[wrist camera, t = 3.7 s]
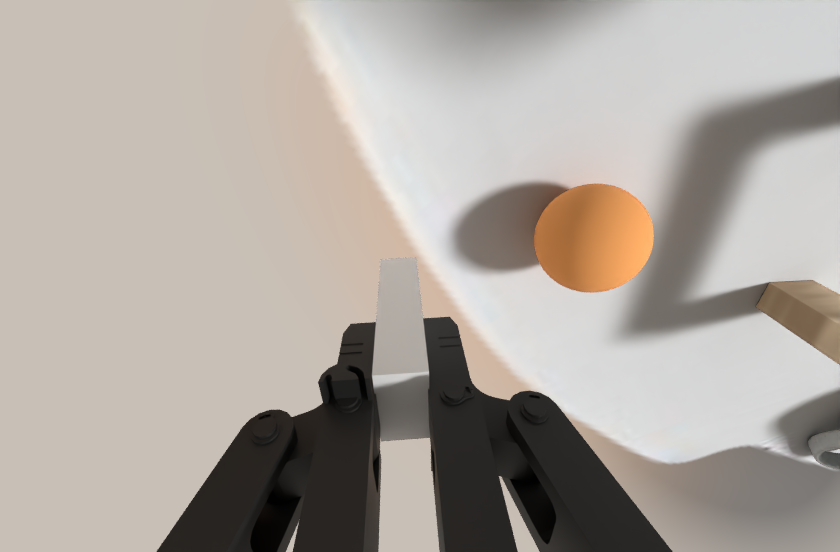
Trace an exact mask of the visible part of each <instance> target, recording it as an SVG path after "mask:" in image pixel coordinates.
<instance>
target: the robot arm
mask: <svg viewBox="0 0 840 552" xmlns="http://www.w3.org/2000/svg"><path fill="white" fill-rule="evenodd" d="M318 383H319V387H320V392H321V396H322V400H323V403H322V404H321V405H320V406H318V407H317V408H315V409H313V410H311V411H309V412H306V413H303V414H300V415H297V416H295V417H291V416H290V415H289V414H288V413H287V412H284V411H282V410H269V411H265V412H262V413H259V414H258V415H256V416H255V417H253V418H251V419H250V420H249V421H248V422H247V423H246V424H245V425H244V426H243V427H242V429H241V430H240V432H239V433H238V435H237V436H236V437H235V439H234V440H233V442H232V443H231V445H230V446H229V448H228V449H227V450H226V452H225V454H224V455H223V456H222V458H221V459H220V461H219V462H218V464H217V465H216V467H215V468H214V469H213V471H212V472H211V474H210V475H209V477H208V478H207V480H206V481H205V482H204V484H203V485H202V487H201V488H200V490H199V491H198V492H197V494H196V495H195V497H194V498H193V500H192V501H191V503H190V504H189V505H188V507H187V508H186V510H185V511H184V513H183V514H182V516H181V517H180V518H179V520H178V521H177V523H176V524H175V526H174V527H173V529H172V530H171V531H170V533H169V535H168V536H167V537H166V539H165V540H164V542H163V543H162V544H161V546H160V548H159V549H158V550H157V552H286V550H287V547H288V545H289V543H290V540H291V538H292V536H293V533H294V531H295V528H296V526H297V524H298V522H299V525H298V529H297V534H296V539H295V544H294V548H293V552H378V545H379V512H380V482H381V481H380V480H381V454H380V438H381V441H391V440H405V439H418V438H430V441H431V471H433V482H434V494H435V505H436V516H437V526H438V537H439V549H440V552H518V551H517V548H516V543H515V539H514V535H513V531H512V527H511V523H510V519H509V515H508V512H507V507H506V503H505V500H504V496H503V491H502V487H501V484H500V479H499V476H501V477H502V478H503V481H504V482H505V485H506V487H507V489H508V491H509V492H510V494H511V496H512V498H513V500H514V502H515V504H516V506H517V508H518V510H519V512H520V514H521V516H522V518H523V520H524V522H525V524H526V526H527V528H528V530H529V531H530V534H531V536H532V537H533V539H534V541H535V543H536V545H537V547H538V549H539V551H540V552H672V550H671V549H670V548H669V547H668V545H667V544H666V543H665V542H664V540H663V539H662V538H661V537H660V535H659V534H658V533H657V531H656V530H655V529H654V528H653V526H652V525H651V524H650V522H649V521H648V520H647V519H646V517H645V516H644V515H643V514H642V513H641V511H640V510H639V509H638V507H637V506H636V505H635V503H634V502H633V501H632V500H631V499H630V497H629V496H628V495H627V493H626V492H625V491H624V490H623V488H622V487H621V486H620V484H619V483H618V482H617V481H616V480H615V478H614V477H613V476H612V474H611V473H610V472H609V470H608V469H607V468H606V467H605V465H604V464H603V463H602V461H601V460H600V459H599V458H598V456H597V455H596V454H595V453H594V451H593V450H592V449H591V448H590V446H589V445H588V444H587V442H586V441H585V440H584V439H583V437H582V436H581V435H580V434H579V432H578V431H577V430H576V429H575V427H574V426H573V425H572V423H571V422H570V421H569V420H568V418H567V417H566V416H565V414H564V413H563V412H562V411H561V409H560V408H559V407H558V406H557V404H556V403H555V402H553V401H552V400H551V399H550V398H549V397H547V396H545V395H543V394H541V393H538V392H533V391H523V392H519V393H518V394H515V395H513V397H512V398H511V399H510V401H509V400H504V399H499V398H495V397H491V396H488V395H486V394H484V393H482V392H481V391H479V390H478V389H477V388H476V387H475V386H474V384H472V381H471V379H470V376H469V371H468V367H467V363H466V359H465V355H464V350H463V347H462V342H461V338H460V334H459V330H458V326H457V324H455V322H454V321H453V320H452V319H451V318H450V317H440V318H425V319H424V318H423V313H422V304H421V295H420V286H419V278H418V269H417V259H416V257H415V258H396V259H381V261H380V276H379V289H378V301H377V315H376V322H374V323H357V324H350V326H349V327H348V328H347V329H346V331H345V332H344V333H343V337H342V343H341V348H340V355H339V358H338V363H337V365H335V366H332V367H330V368H328V370H326V371H325V372H324V373H323V374H322V375H321V377H320V379H319V382H318ZM299 519H300V520H299Z"/></svg>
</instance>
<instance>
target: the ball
mask: <svg viewBox="0 0 840 552" xmlns="http://www.w3.org/2000/svg"><path fill="white" fill-rule="evenodd" d="M653 240H654V230H653V225H652V221H651V218H650V216H649V214H648V212H647V210H646V208H645V207H644V206H643V204H642V203H641V202H640V201H639V200H638V199H637V198H636V197H634V196H633V195H632V194H630V193H629V192H627V191H625V190H623V189H621V188H618V187H615V186H611V185H605V184H587V185H582V186H578V187H575V188H572V189H570V190H568V191H566V192H564V193H562V194H560V195H559V196H557V197H556V198H555V199H554V200H553V201H552V202H551V203H549V204H548V206H547V207H546V208H545V209H544V211H543V212H542V214H541V216H540V218H539V220H538V222H537V225H536V229H535V234H534V248H535V252H536V256H537V258H538V261H539V263H540V265H541V266H542V268H543V270H544V271H545V272H546V273H547V274H548V275H549V276H550V277H551V278H552V279H553V280H555V281H556V282H557V283H559V284H561V285H562V286H564V287H567V288H569V289H572V290H576V291H580V292H603V291H607V290H610V289H614V288H616V287H619V286H621V285H623V284H625V283H626V282H628V281H629V280H631V279H632V278H633V277H635V276H636V275H637V274H638V273H639V272H640V270H641V269H642V268H643V267H644V265H645V264H646V262H647V260H648V258H649V256H650V254H651V251H652V247H653Z"/></svg>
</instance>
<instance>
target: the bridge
mask: <svg viewBox="0 0 840 552" xmlns="http://www.w3.org/2000/svg"><path fill="white" fill-rule="evenodd" d="M756 308H758V309H759V310H761V311H762V312H764V313H765V314H767V315H768V316H769V317H771V318H772V319H774V320H775V321H777V322H778V323H780V324H781V325H782V326H784V327H785V328H787V329H788V330H790V331H791V332H793V333H794V334H796V335H797V336H798V337H800V338H801V339H803V340H804V341H806V342H807V343H809V344H810V345H811V346H813V347H814V348H816V349H817V350H819V351H820V352H822V353H823V354H825V355H826V356H827V357H829V358H830V359H832V360H833V361H835V362H836V363H838V364H839V365H840V294H838V293H836V292H834V291H832V290H830V289H828V288H827V287H825V286H823V285H821V284H819V283H817V282H815V281H813V280H810V281H792V282H773V283H769V284H768V286H767V288H766V290H765V292H764V293H763V295H762V297H761V299H760V301H759V302H758V304H757V306H756Z"/></svg>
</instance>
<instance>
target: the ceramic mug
mask: <svg viewBox="0 0 840 552" xmlns="http://www.w3.org/2000/svg"><path fill="white" fill-rule="evenodd" d="M808 445H809V448H810V450H811V452H812V454H813V456H814V458H815V459H816V461H817V462H819V463H820V464H822V465H824V466H827V467H830V468H833V469H837V470H840V454H839V453H833V452H826V451H829V450H834V449H840V430H833V431H827V432H822V433H819V434H816V435H814V436H812V437H811V438H810V440H809V441H808Z"/></svg>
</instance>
